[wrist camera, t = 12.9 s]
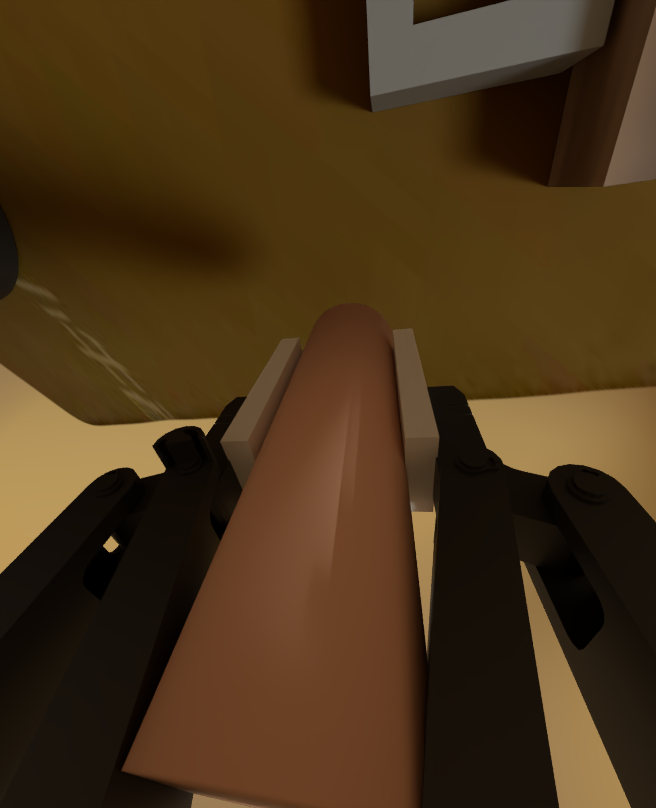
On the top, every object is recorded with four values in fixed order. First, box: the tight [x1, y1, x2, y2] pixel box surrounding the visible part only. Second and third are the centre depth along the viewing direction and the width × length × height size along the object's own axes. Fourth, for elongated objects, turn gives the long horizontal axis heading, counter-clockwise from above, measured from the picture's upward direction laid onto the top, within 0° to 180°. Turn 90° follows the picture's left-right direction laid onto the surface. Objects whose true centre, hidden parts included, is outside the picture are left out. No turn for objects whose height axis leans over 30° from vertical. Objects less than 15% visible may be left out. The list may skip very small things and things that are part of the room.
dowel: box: [121, 303, 428, 808], centre depth 10 cm, size 4×4×14 cm
